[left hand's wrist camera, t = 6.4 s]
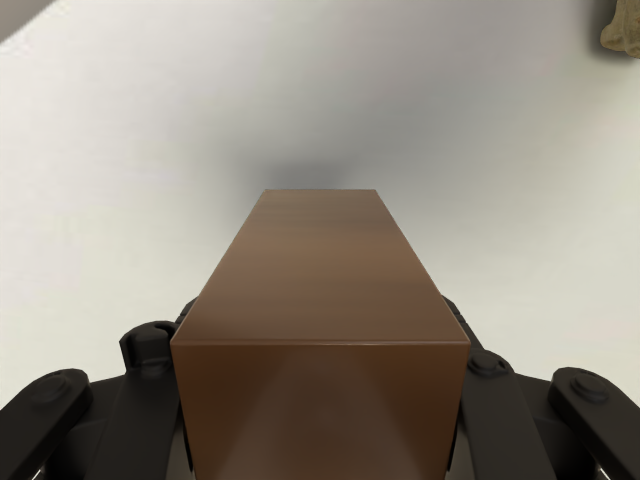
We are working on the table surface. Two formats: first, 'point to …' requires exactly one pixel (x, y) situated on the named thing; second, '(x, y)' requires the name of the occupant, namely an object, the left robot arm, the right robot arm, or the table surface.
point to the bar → (320, 349)
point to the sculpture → (624, 29)
